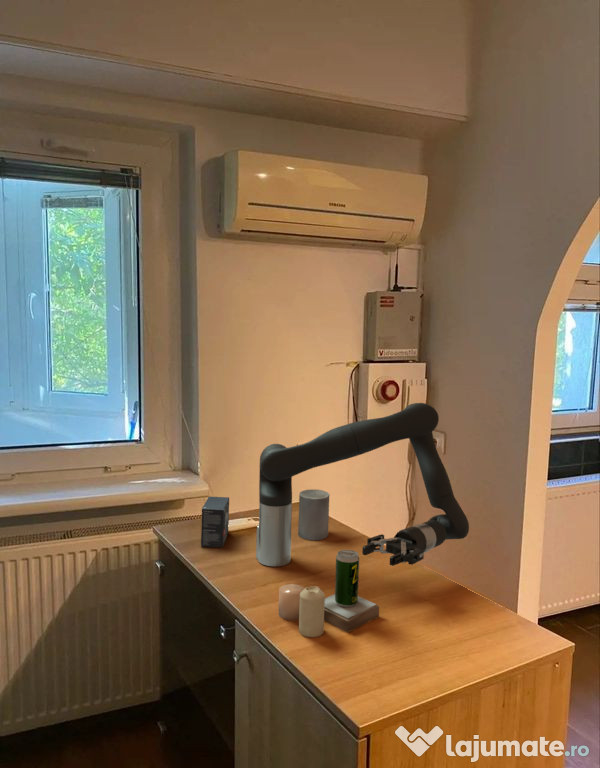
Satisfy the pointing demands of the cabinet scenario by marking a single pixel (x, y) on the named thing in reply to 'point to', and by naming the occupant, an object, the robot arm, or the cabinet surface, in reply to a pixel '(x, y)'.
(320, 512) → the pillar candle
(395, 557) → the robot arm
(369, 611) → the podium
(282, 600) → the peach rounded cylinder
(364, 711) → the cabinet surface
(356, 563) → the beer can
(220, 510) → the small box
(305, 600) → the candle
